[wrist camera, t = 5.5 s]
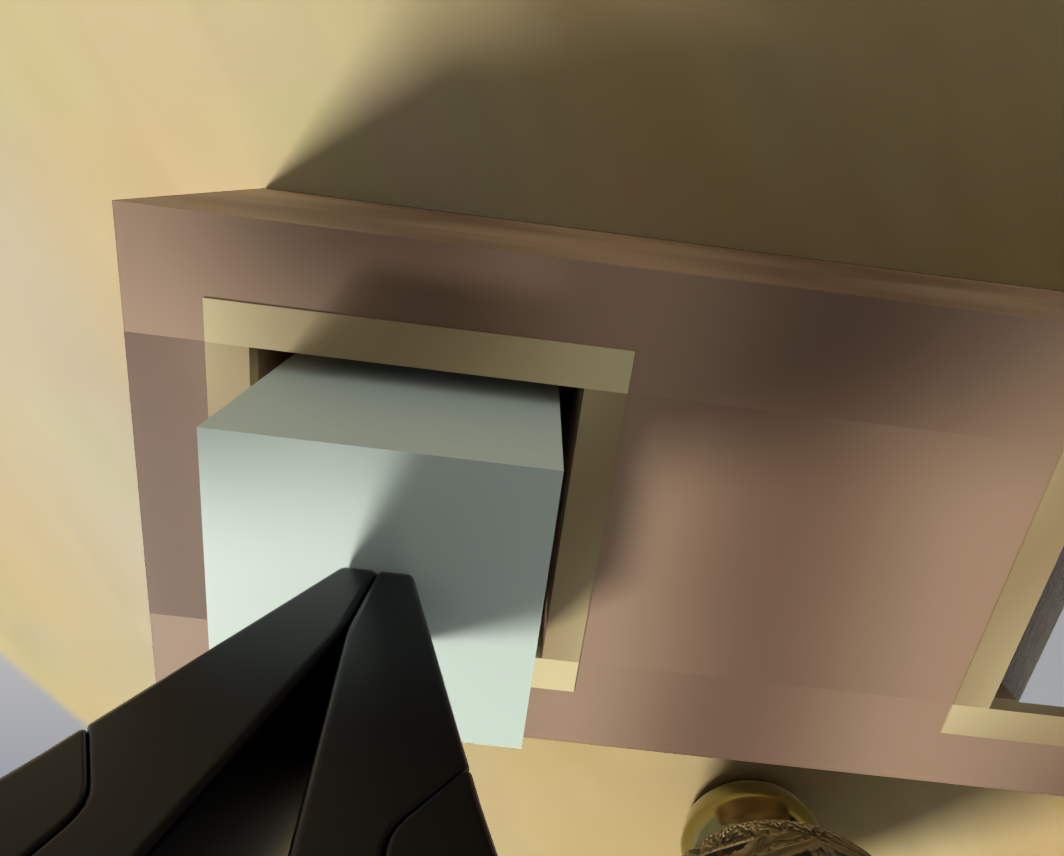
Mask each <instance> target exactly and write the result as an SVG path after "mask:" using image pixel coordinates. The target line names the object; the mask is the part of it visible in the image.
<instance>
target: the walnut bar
mask: <svg viewBox="0 0 1064 856" xmlns="http://www.w3.org/2000/svg"><path fill="white" fill-rule="evenodd" d="M112 205H113V216H114V227H115V238H116V248H117V259H118V270H119V281H120V292H121V303H122V314H123V325H124V336H125V347H126V358H127V369H128V380H129V391H130V402H131V413H132V424H133V435H134V445H135V456H136V467H137V478H138V489H139V500H140V511H141V522H142V533H143V544H144V555H145V566H146V577H147V588H148V599H149V610H150V621H151V631H152V642H153V653H154V664H155V675H156V683H157V682H158V681H160V680H161V679H163V678H165V677H166V676H168V675H169V674H171V673H173V672H174V671H176V670H178V669H179V668H181V667H182V666H184V665H186V664H187V663H189V662H190V661H192V660H194V659H195V658H197V657H198V656H200V655H202V654H203V653H205V652H207V651H208V650H209V640H208V622H207V604H206V586H205V568H204V550H203V532H202V514H201V496H200V478H199V460H198V442H197V426H199V425H200V424H201V423H203V422H204V421H205V420H207V419H208V418H209V417H211V416H212V415H213V414H215V413H216V412H217V411H219V410H220V409H221V408H223V407H224V406H225V405H227V404H228V403H229V402H231V401H232V400H233V399H235V398H236V397H237V396H239V395H240V394H241V393H243V392H244V391H246V390H247V389H248V388H250V387H251V386H252V385H254V384H255V383H256V382H258V381H259V380H260V379H262V378H263V377H264V376H266V375H267V374H268V373H270V372H271V371H272V370H274V369H275V368H276V367H278V366H279V365H280V364H282V363H283V362H284V361H286V360H287V359H288V358H290V357H291V356H292V355H294V354H295V353H300V354H308V355H316V356H324V357H332V358H340V359H348V360H357V361H365V362H373V363H381V364H389V365H397V366H405V367H414V368H422V369H430V370H438V371H446V372H454V373H462V374H470V375H479V376H487V377H495V378H503V379H511V380H519V381H527V382H536V383H544V384H552V385H560V386H561V391H560V398H559V399H560V416H561V432H562V449H563V466H564V473H563V480H562V486H561V493H560V499H559V506H558V512H557V519H556V525H555V532H554V539H553V545H552V552H551V558H550V565H549V571H548V578H547V584H546V591H545V597H544V604H543V611H542V617H541V624H540V630H539V637H538V643H537V650H536V656H535V663H534V669H533V676H532V682H531V689H530V696H529V702H528V709H527V715H526V722H525V728H524V735H523V737H526V738H536V739H545V740H554V741H563V742H572V743H581V744H591V745H600V746H609V747H618V748H627V749H636V750H646V751H655V752H664V753H673V754H682V755H691V756H701V757H710V758H719V759H728V760H737V761H746V762H756V763H765V764H774V765H783V766H792V767H801V768H810V769H820V770H829V771H838V772H847V773H856V774H865V775H875V776H884V777H893V778H902V779H911V780H920V781H930V782H939V783H948V784H957V785H966V786H975V787H985V788H994V789H1003V790H1012V791H1021V792H1030V793H1040V794H1049V795H1058V796H1064V707H1058V706H1050V705H1041V704H1032V703H1023V702H1018V701H1017V700H1016V698H1015V697H1014V696H1013V695H1012V694H1011V693H1010V692H1009V691H1008V689H1007V688H1006V687H1005V686H1004V685H1003V684H1002V683H1001V682H1002V679H1003V677H1004V675H1005V673H1006V671H1007V668H1008V666H1009V664H1010V662H1011V660H1012V658H1013V655H1014V653H1015V651H1016V649H1017V647H1018V644H1019V642H1020V640H1021V638H1022V636H1023V634H1024V631H1025V629H1026V627H1027V625H1028V623H1029V620H1030V618H1031V616H1032V614H1033V612H1034V610H1035V607H1036V605H1037V603H1038V601H1039V599H1040V596H1041V594H1042V592H1043V590H1044V588H1045V586H1046V583H1047V581H1048V579H1049V577H1050V575H1051V573H1052V570H1053V568H1054V566H1055V564H1056V562H1057V559H1058V557H1059V555H1060V553H1061V551H1062V549H1063V546H1064V292H1062V291H1054V290H1047V289H1039V288H1031V287H1023V286H1016V285H1008V284H1000V283H992V282H985V281H977V280H969V279H961V278H954V277H946V276H938V275H930V274H923V273H915V272H907V271H899V270H892V269H884V268H876V267H868V266H861V265H853V264H845V263H837V262H830V261H822V260H814V259H807V258H799V257H791V256H783V255H776V254H768V253H760V252H752V251H745V250H737V249H729V248H721V247H714V246H706V245H698V244H690V243H683V242H675V241H667V240H659V239H652V238H644V237H636V236H628V235H621V234H613V233H605V232H597V231H590V230H582V229H574V228H566V227H559V226H551V225H543V224H536V223H528V222H520V221H512V220H505V219H497V218H489V217H481V216H474V215H466V214H458V213H450V212H443V211H435V210H427V209H419V208H412V207H404V206H396V205H388V204H381V203H373V202H365V201H357V200H350V199H342V198H334V197H326V196H319V195H311V194H303V193H295V192H288V191H280V190H272V189H264V188H262V189H249V190H236V191H223V192H211V193H198V194H185V195H172V196H160V197H147V198H134V199H122V200H112Z"/></svg>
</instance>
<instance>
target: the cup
mask: <svg viewBox="0 0 1064 856" xmlns="http://www.w3.org/2000/svg"><path fill="white" fill-rule="evenodd" d="M681 854H682V856H871V855H870V854H868V853H867V852H866V851H865V850H863V849H861V848H860V847H858V846H857V845H855V844H854V843H852V842H851V841H849V840H847V839H846V838H844V837H842V836H840V835H838V834H836V833H834V832H831V831H829V830H826V829H824V828H821V827H820V826H819V824H818V822H817V820H816V818H815V817H814V815H813V814H812V813H811V811H810V810H809V809H808V808H807V807H806V806H805V805H804V804H803V803H802V802H801V801H800V800H799V799H798V798H797V797H796V796H794V795H793V794H792V793H791V792H789V791H787V790H786V789H784V788H782V787H780V786H778V785H775V784H772V783H768V782H764V781H757V780H743V781H735V782H730V783H727V784H723V785H721V786H718V787H716V788H714V789H712V790H710V791H709V792H707V793H706V794H704V795H703V796H702V797H701V798H700V799H698V800H697V801H696V803H695V804H694V805H693V806H692V808H691V809H690V811H689V813H688V815H687V818H686V820H685V823H684V827H683V832H682V837H681Z"/></svg>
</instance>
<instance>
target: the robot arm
mask: <svg viewBox="0 0 1064 856" xmlns="http://www.w3.org/2000/svg"><path fill="white" fill-rule="evenodd" d="M0 856H498V855H497V852H496V849H495V846H494V843H493V840H492V838H491V835H490V832H489V829H488V826H487V823H486V820H485V817H484V814H483V811H482V808H481V805H480V802H479V798H478V795H477V791H476V788H475V785H474V781H473V778H472V775H471V773H470V772H469V766H468V762H467V759H466V755H465V752H464V748H463V745H462V742H461V738H460V735H459V731H458V728H457V724H456V721H455V718H454V714H453V711H452V707H451V704H450V700H449V697H448V694H447V690H446V687H445V683H444V680H443V676H442V673H441V670H440V666H439V663H438V659H437V656H436V652H435V649H434V646H433V642H432V639H431V635H430V632H429V629H428V625H427V622H426V618H425V615H424V611H423V608H422V605H421V601H420V598H419V594H418V591H417V587H416V584H415V581H414V578H413V577H412V576H411V575H409V574H400V573H391V572H380V573H379V574H378V575H376V573H375V572H374V571H372V570H365V569H356V568H348V567H344V568H341V569H339V570H337V571H335V572H334V573H332V574H330V575H329V576H327V577H326V578H324V579H322V580H321V581H319V582H318V583H316V584H314V585H313V586H311V587H310V588H308V589H306V590H305V591H303V592H302V593H300V594H298V595H297V596H295V597H293V598H292V599H290V600H289V601H287V602H285V603H284V604H282V605H281V606H279V607H277V608H276V609H274V610H273V611H271V612H269V613H268V614H266V615H264V616H263V617H261V618H260V619H258V620H256V621H255V622H253V623H252V624H250V625H248V626H247V627H245V628H244V629H242V630H240V631H239V632H237V633H235V634H234V635H232V636H231V637H229V638H227V639H226V640H224V641H223V642H221V643H219V644H218V645H216V646H215V647H213V648H211V649H210V650H208V651H207V652H205V653H203V654H202V655H200V656H198V657H197V658H195V659H194V660H192V661H190V662H189V663H187V664H186V665H184V666H182V667H181V668H179V669H178V670H176V671H174V672H173V673H171V674H169V675H168V676H166V677H165V678H163V679H161V680H160V681H158V682H157V683H155V684H153V685H152V686H150V687H149V688H147V689H145V690H144V691H142V692H141V693H139V694H137V695H136V696H134V697H132V698H131V699H129V700H128V701H126V702H124V703H123V704H121V705H120V706H118V707H116V708H115V709H113V710H112V711H110V712H108V713H107V714H105V715H103V716H102V717H100V718H99V719H97V720H95V721H94V722H92V723H91V724H89V726H88V728H87V732H86V731H85V730H79V731H77V732H76V733H74V734H72V735H71V736H69V737H68V738H66V739H65V740H63V741H61V742H60V743H58V744H56V745H55V746H53V747H51V748H50V749H48V750H47V751H45V752H44V753H42V754H40V755H39V756H37V757H35V758H34V759H32V760H30V761H28V762H27V763H25V764H24V765H22V766H20V767H18V768H17V769H15V770H13V771H12V772H10V773H9V774H7V775H5V776H3V777H1V778H0Z"/></svg>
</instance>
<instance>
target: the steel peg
mask: <svg viewBox="0 0 1064 856" xmlns="http://www.w3.org/2000/svg"><path fill="white" fill-rule="evenodd" d="M1001 683H1002V684H1003V685H1004V686H1005V687H1006V688H1007V689H1008V691H1009V692H1010V693H1011V694H1012V695H1013V696H1014V697H1015V698H1016V700H1017V701H1018V702H1023V703H1032V704H1041V705H1050V706H1058V707H1064V546H1063V549H1062V551H1061V553H1060V555H1059V557H1058V559H1057V562H1056V564H1055V566H1054V568H1053V570H1052V573H1051V575H1050V577H1049V579H1048V581H1047V583H1046V586H1045V588H1044V590H1043V592H1042V594H1041V596H1040V599H1039V601H1038V603H1037V605H1036V607H1035V610H1034V612H1033V614H1032V616H1031V618H1030V620H1029V623H1028V625H1027V627H1026V629H1025V631H1024V634H1023V636H1022V638H1021V640H1020V642H1019V644H1018V647H1017V649H1016V651H1015V653H1014V655H1013V658H1012V660H1011V662H1010V664H1009V666H1008V668H1007V671H1006V673H1005V675H1004V677H1003V679H1002V682H1001Z"/></svg>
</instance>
